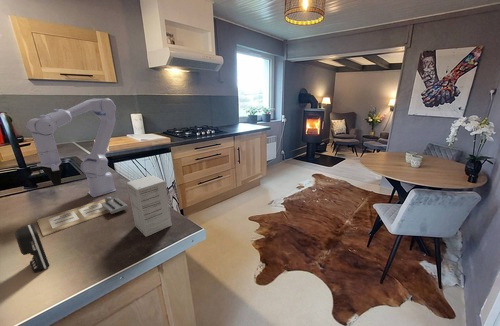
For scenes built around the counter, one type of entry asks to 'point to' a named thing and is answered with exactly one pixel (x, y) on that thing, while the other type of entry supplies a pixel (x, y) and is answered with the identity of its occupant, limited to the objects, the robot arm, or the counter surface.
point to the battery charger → (32, 247)
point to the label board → (71, 217)
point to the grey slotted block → (114, 205)
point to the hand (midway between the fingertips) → (57, 184)
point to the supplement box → (149, 204)
